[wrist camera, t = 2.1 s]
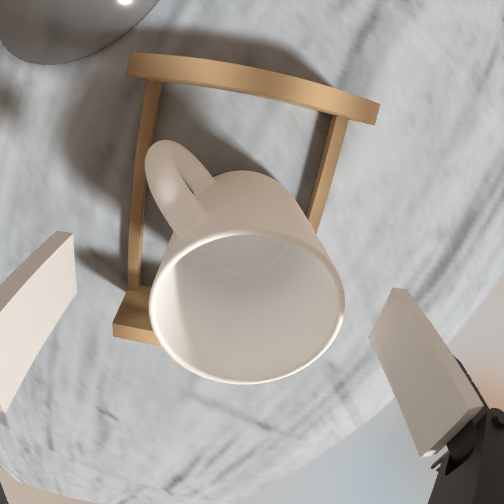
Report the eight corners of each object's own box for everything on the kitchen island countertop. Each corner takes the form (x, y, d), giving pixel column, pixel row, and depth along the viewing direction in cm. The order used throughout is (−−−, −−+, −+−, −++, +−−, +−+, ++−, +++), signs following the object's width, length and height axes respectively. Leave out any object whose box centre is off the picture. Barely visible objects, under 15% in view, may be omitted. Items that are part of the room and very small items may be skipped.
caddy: (130, 295, 24) (113, 336, 20) (154, 62, 17) (131, 52, 12) (283, 318, 26) (293, 362, 21) (347, 101, 18) (380, 103, 14)
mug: (126, 167, 20) (50, 226, 10) (230, 95, 18) (227, 88, 9) (224, 295, 25) (223, 403, 15) (319, 242, 23) (370, 336, 14)
